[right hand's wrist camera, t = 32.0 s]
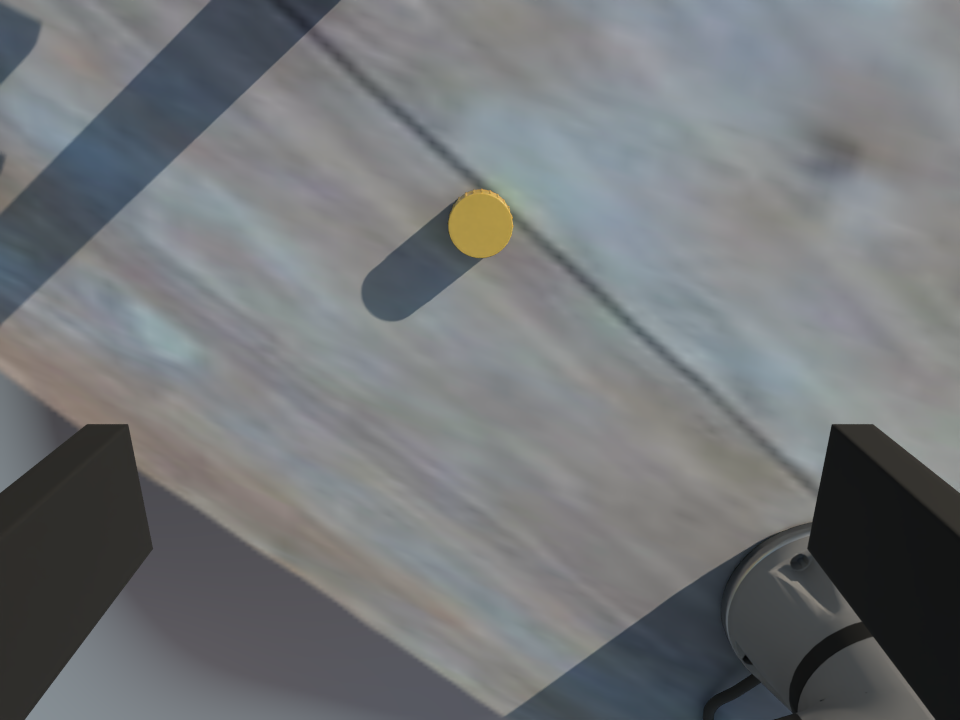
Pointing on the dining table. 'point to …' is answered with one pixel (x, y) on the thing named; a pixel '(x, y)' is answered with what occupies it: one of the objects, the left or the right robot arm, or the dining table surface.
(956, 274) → the dining table surface
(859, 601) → the right robot arm
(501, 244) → the cap
